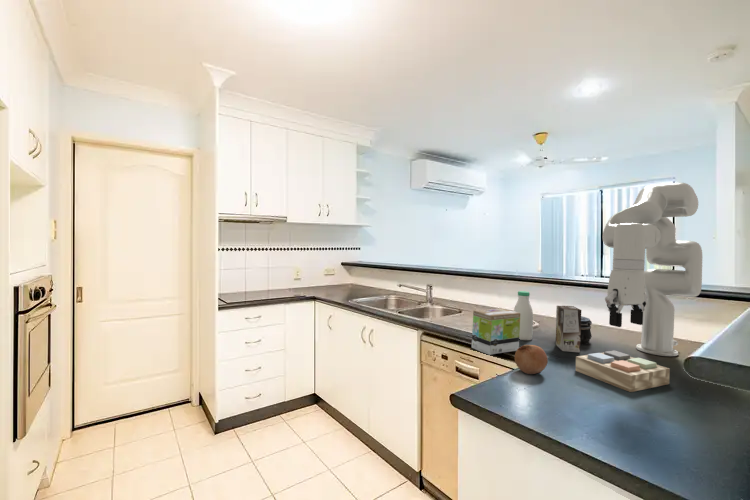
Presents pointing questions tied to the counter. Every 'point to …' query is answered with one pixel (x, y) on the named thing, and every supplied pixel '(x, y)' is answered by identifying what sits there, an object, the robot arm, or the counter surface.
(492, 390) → the counter surface
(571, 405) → the counter surface
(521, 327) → the milk bottle
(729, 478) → the counter surface
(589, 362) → the wooden puzzle board
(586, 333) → the container
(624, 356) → the key charcoal
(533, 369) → the onion
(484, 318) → the tea box
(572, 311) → the coffee box
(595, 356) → the key pale blue
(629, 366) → the key terracotta
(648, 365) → the key sage
